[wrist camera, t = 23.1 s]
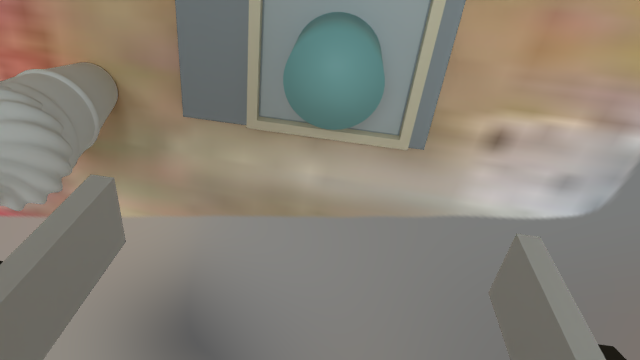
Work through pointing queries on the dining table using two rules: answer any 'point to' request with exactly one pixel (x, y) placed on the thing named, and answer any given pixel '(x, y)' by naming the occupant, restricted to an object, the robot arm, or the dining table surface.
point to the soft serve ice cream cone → (49, 127)
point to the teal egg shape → (335, 72)
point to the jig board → (276, 46)
